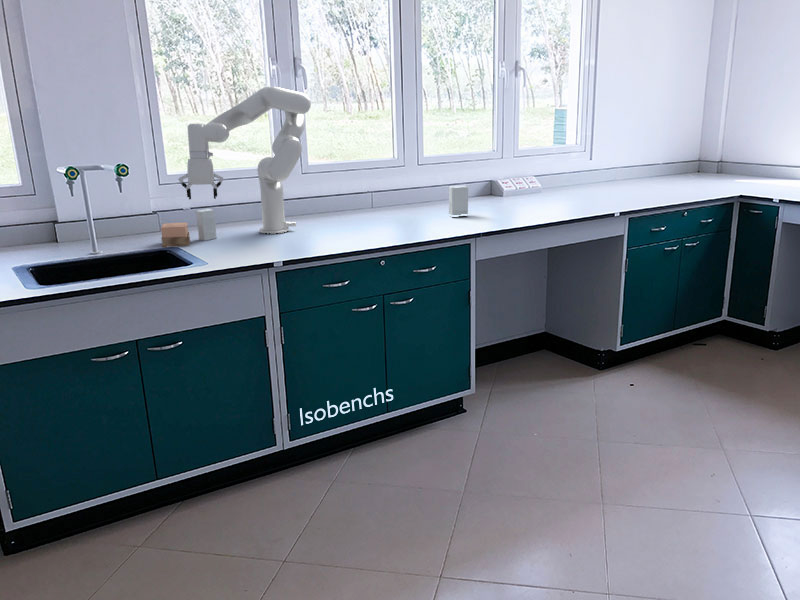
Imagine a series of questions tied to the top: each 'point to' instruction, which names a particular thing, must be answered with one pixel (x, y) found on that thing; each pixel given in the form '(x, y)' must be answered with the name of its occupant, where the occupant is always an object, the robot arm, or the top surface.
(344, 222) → the top surface
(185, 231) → the tower top block
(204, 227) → the skincare box
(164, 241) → the tower base block
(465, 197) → the skincare box
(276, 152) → the robot arm
